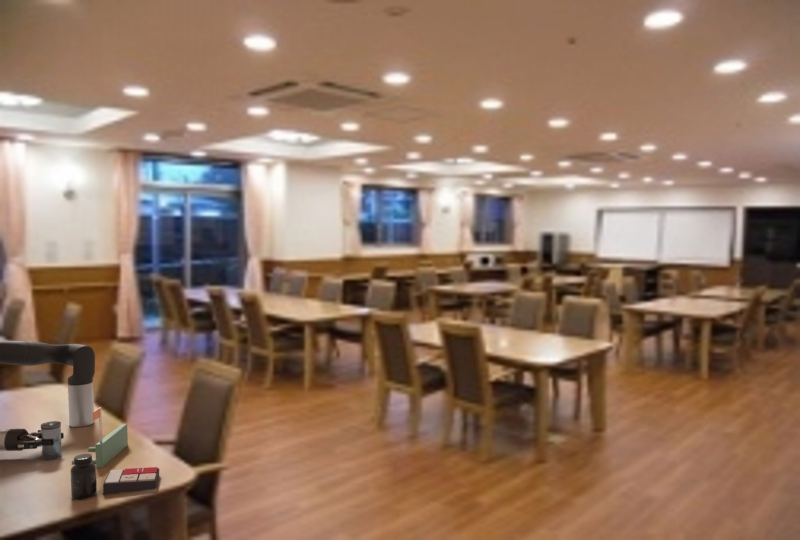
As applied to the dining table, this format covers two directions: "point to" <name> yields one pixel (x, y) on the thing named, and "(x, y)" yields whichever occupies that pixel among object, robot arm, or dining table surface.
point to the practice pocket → (108, 442)
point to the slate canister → (51, 432)
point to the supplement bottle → (83, 477)
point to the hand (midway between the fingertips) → (58, 438)
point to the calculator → (131, 480)
